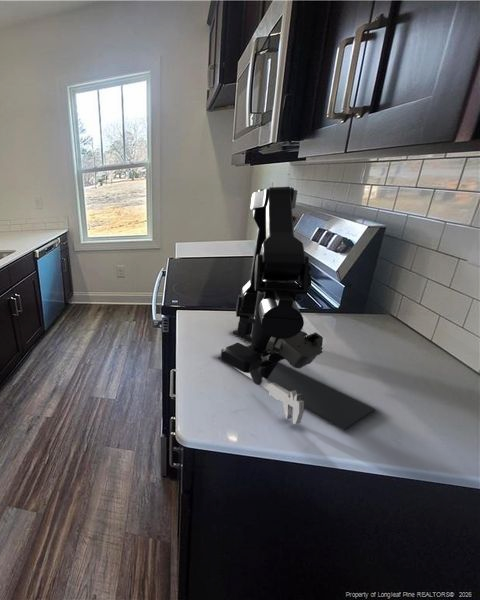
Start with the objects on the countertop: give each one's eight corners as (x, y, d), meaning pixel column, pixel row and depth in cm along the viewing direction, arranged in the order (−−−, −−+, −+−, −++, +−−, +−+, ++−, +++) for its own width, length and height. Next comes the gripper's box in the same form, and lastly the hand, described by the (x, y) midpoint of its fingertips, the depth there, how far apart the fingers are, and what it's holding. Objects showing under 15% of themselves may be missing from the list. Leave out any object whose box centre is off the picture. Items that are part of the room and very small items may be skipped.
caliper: (299, 425, 57) (308, 399, 55) (294, 426, 57) (303, 400, 55) (229, 359, 75) (233, 337, 73) (225, 360, 75) (229, 338, 73)
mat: (244, 347, 84) (245, 346, 84) (374, 410, 60) (375, 408, 60) (217, 358, 80) (217, 357, 80) (344, 430, 56) (345, 428, 56)
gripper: (281, 345, 49) (266, 423, 55) (348, 317, 57) (328, 389, 62) (222, 320, 59) (214, 389, 64) (286, 298, 66) (274, 362, 72)
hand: (259, 382), depth 66 cm, fingers closed on caliper, 1 cm apart
